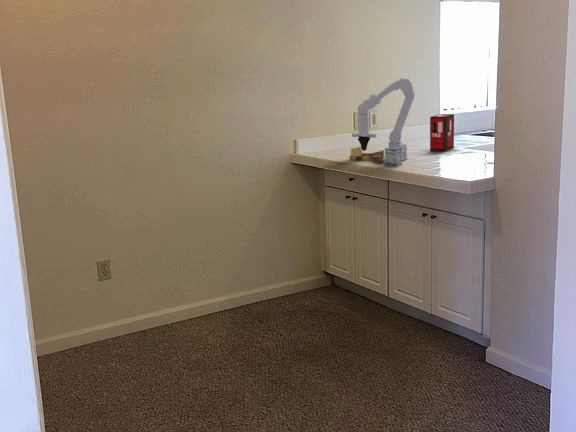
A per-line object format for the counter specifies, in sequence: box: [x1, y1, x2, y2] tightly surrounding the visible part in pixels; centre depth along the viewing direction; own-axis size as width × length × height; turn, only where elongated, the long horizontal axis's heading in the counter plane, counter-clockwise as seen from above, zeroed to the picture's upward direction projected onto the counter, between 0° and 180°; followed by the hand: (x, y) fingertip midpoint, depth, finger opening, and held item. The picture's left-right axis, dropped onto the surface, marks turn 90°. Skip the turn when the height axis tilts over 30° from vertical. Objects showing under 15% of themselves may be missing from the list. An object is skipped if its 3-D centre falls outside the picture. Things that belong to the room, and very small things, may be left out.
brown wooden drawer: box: [349, 149, 385, 162], centre depth 352 cm, size 15×14×5 cm
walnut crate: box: [372, 156, 384, 165], centre depth 340 cm, size 4×4×4 cm
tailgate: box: [350, 145, 363, 156], centre depth 356 cm, size 1×10×6 cm, turn 141°
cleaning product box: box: [429, 113, 455, 153], centre depth 377 cm, size 16×9×20 cm, turn 148°
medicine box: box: [384, 147, 403, 167], centre depth 332 cm, size 8×4×9 cm, turn 44°
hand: (364, 150), depth 352 cm, fingers closed
